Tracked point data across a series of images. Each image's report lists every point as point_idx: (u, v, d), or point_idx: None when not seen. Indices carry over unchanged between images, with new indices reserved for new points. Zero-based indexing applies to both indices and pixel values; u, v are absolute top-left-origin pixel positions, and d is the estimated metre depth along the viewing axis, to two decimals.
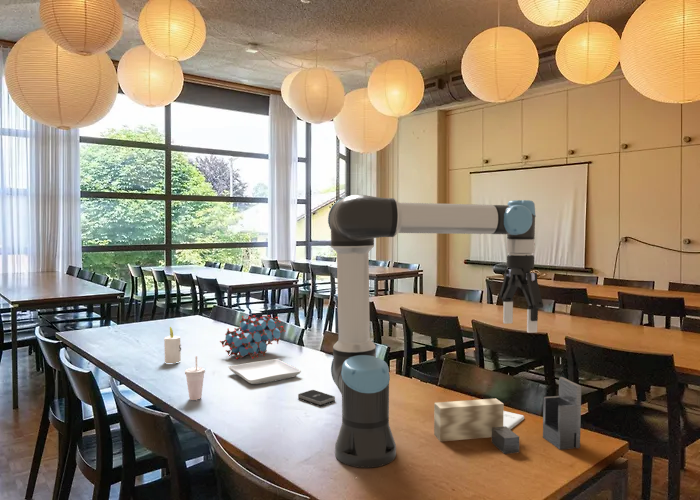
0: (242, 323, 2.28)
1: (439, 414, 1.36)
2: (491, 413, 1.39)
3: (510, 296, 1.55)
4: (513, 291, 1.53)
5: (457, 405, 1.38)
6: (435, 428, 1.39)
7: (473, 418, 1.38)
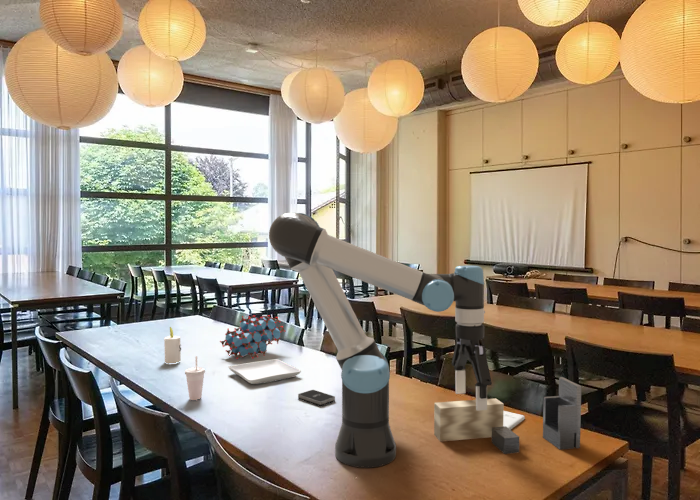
0: (242, 323, 2.28)
1: (439, 414, 1.36)
2: (491, 413, 1.39)
3: (462, 365, 1.45)
4: (465, 360, 1.44)
5: (457, 405, 1.38)
6: (435, 428, 1.39)
7: (473, 418, 1.38)
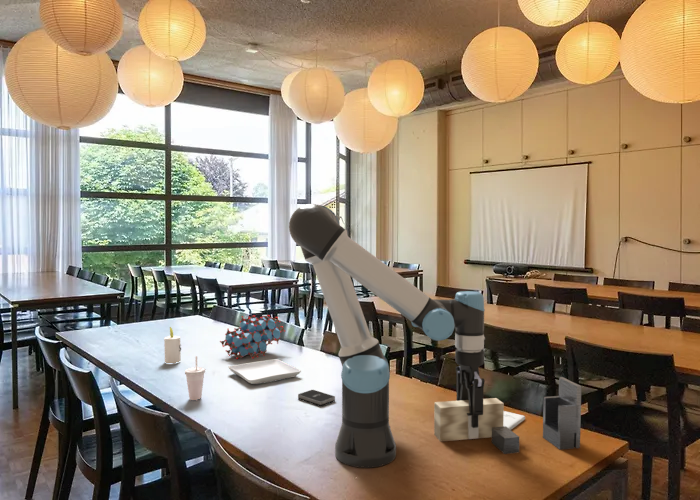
0: (242, 323, 2.28)
1: (439, 413, 1.36)
2: (491, 412, 1.39)
3: (466, 399, 1.42)
4: (468, 392, 1.42)
5: (457, 404, 1.38)
6: (435, 427, 1.39)
7: None
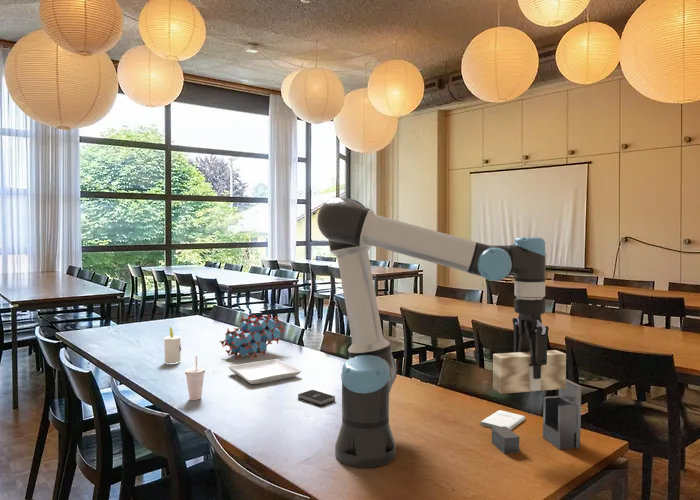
0: (242, 323, 2.28)
1: (500, 364, 1.30)
2: (554, 363, 1.32)
3: (525, 351, 1.35)
4: (527, 343, 1.35)
5: (518, 355, 1.31)
6: (494, 380, 1.33)
7: None
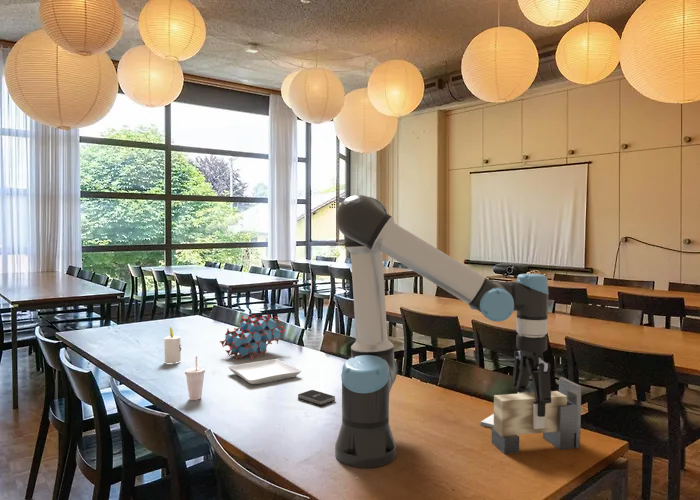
0: (242, 323, 2.28)
1: (500, 407, 1.30)
2: (554, 406, 1.32)
3: (524, 384, 1.37)
4: (527, 378, 1.36)
5: (519, 398, 1.31)
6: (495, 422, 1.33)
7: None
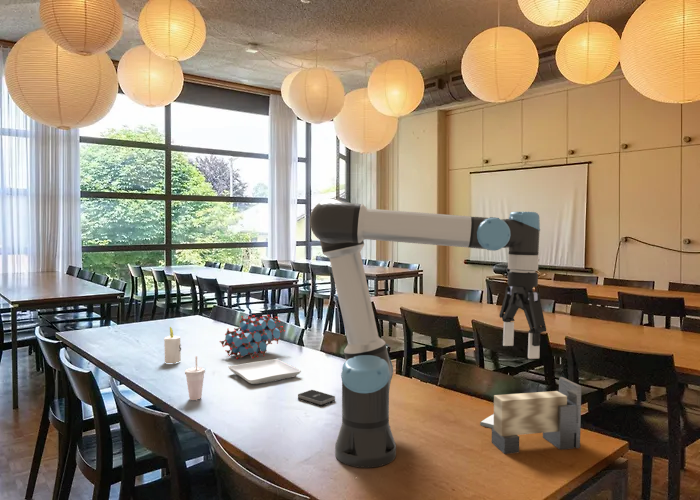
0: (242, 323, 2.28)
1: (500, 407, 1.30)
2: (554, 406, 1.32)
3: (511, 316, 1.41)
4: (514, 311, 1.40)
5: (519, 398, 1.31)
6: (495, 422, 1.33)
7: (536, 411, 1.31)
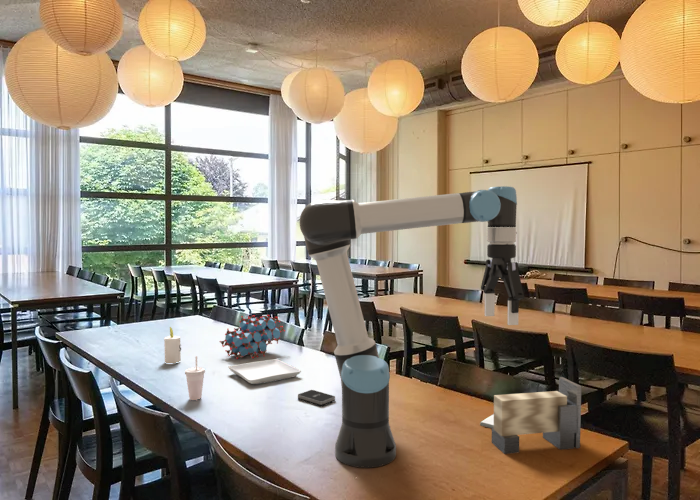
0: (242, 323, 2.28)
1: (500, 407, 1.30)
2: (554, 406, 1.32)
3: (492, 287, 1.48)
4: (495, 282, 1.47)
5: (519, 398, 1.31)
6: (495, 422, 1.33)
7: (536, 411, 1.31)
